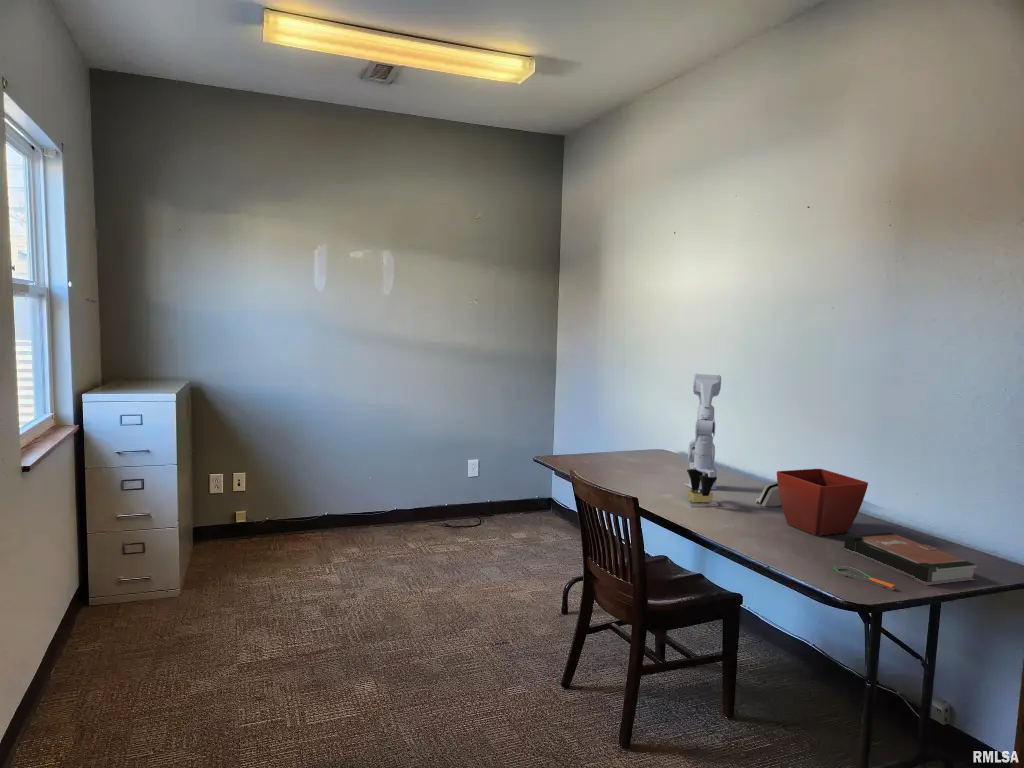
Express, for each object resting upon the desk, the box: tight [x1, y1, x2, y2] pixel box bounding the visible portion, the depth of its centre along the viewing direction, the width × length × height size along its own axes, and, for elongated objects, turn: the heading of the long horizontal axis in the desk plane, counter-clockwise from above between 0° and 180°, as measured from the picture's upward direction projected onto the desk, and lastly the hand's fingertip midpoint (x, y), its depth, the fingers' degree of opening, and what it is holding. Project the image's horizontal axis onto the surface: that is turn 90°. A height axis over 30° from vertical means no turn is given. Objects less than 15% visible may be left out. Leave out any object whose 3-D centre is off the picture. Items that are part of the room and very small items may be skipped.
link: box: [686, 489, 714, 502], centre depth 233 cm, size 7×5×3 cm
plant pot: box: [776, 468, 869, 537], centre depth 209 cm, size 19×19×17 cm
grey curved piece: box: [755, 481, 782, 507], centre depth 237 cm, size 17×5×10 cm, turn 109°
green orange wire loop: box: [833, 565, 897, 588], centre depth 169 cm, size 15×6×2 cm, turn 31°
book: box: [843, 532, 978, 582], centre depth 182 cm, size 26×18×5 cm
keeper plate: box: [681, 489, 719, 508], centre depth 233 cm, size 10×7×5 cm
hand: (700, 492), depth 233 cm, fingers open, 7 cm apart
